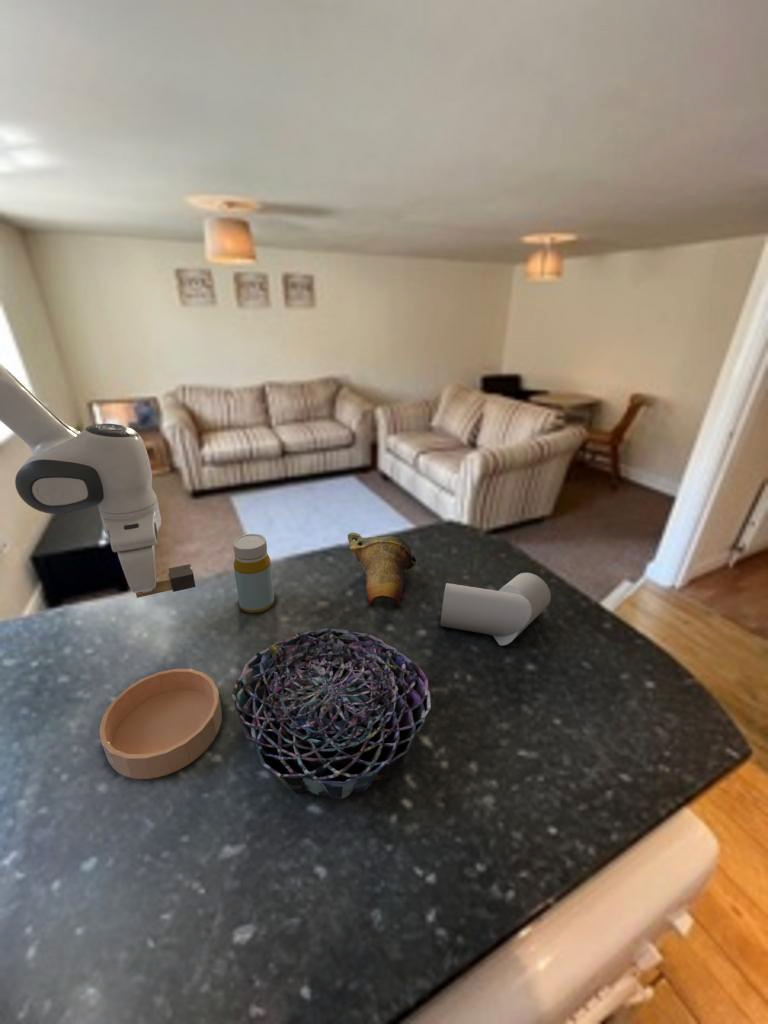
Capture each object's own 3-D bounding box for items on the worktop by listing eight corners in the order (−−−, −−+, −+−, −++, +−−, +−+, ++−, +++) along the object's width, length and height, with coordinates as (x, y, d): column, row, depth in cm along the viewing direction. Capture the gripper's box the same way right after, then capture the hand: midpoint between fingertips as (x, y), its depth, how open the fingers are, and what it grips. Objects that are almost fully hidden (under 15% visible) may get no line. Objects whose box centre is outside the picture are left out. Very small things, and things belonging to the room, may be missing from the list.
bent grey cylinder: (507, 669, 76) (558, 616, 89) (504, 615, 73) (556, 568, 86) (426, 638, 88) (481, 595, 102) (420, 590, 85) (478, 553, 99)
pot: (348, 578, 86) (356, 513, 99) (332, 609, 94) (341, 545, 107) (429, 599, 90) (427, 534, 103) (408, 627, 97) (408, 563, 110)
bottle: (277, 610, 91) (270, 546, 84) (241, 618, 89) (232, 553, 82) (271, 591, 97) (265, 530, 90) (238, 598, 94) (229, 535, 88)
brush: (137, 600, 81) (133, 586, 80) (136, 588, 85) (133, 575, 83) (195, 587, 86) (193, 573, 84) (192, 576, 89) (190, 563, 88)
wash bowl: (84, 781, 58) (74, 758, 56) (139, 689, 72) (133, 668, 70) (201, 781, 59) (196, 758, 57) (234, 689, 73) (231, 669, 71)
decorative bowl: (328, 883, 50) (330, 836, 46) (199, 728, 65) (191, 681, 61) (452, 734, 68) (463, 689, 63) (328, 639, 83) (330, 597, 78)
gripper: (111, 498, 84) (126, 561, 90) (110, 548, 68) (128, 621, 74) (148, 493, 87) (161, 554, 93) (156, 540, 71) (170, 611, 77)
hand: (146, 584), depth 83 cm, fingers closed on brush, 2 cm apart
